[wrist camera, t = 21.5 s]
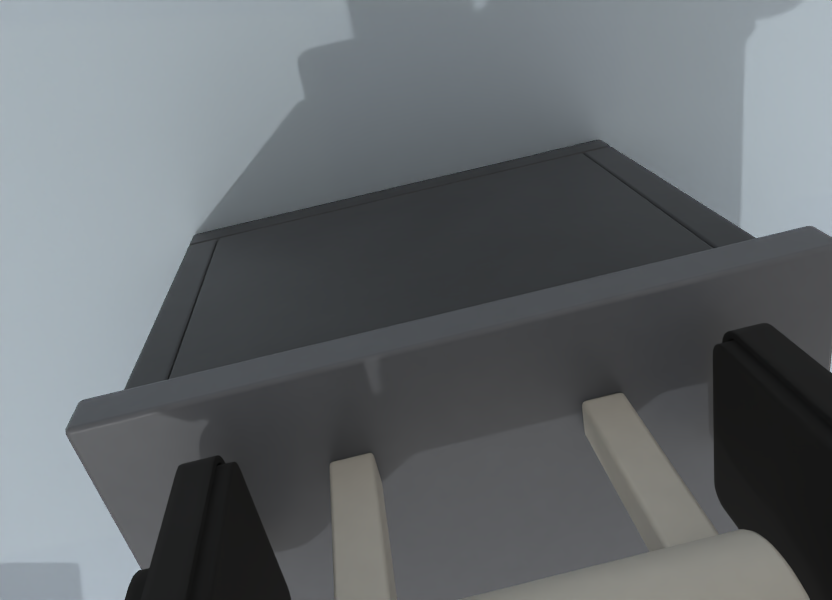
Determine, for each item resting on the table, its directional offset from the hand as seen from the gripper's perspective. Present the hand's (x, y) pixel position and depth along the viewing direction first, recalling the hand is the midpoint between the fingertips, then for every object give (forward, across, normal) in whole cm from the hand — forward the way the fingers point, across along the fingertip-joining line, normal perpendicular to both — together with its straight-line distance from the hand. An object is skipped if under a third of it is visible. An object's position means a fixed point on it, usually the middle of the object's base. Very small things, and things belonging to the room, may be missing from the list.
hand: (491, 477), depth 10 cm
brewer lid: (+2, 0, +5) cm, 5 cm away
